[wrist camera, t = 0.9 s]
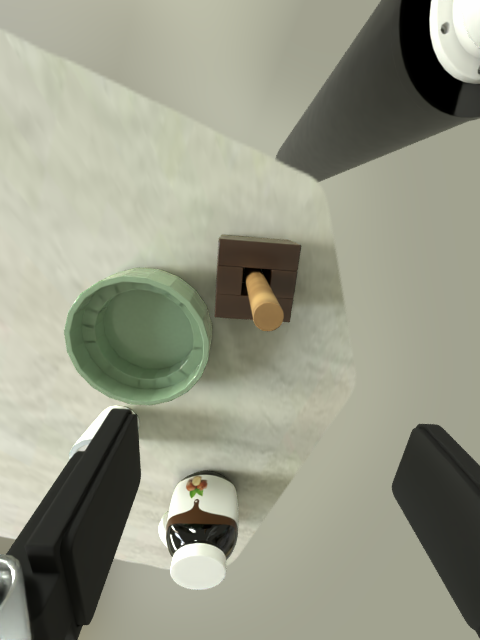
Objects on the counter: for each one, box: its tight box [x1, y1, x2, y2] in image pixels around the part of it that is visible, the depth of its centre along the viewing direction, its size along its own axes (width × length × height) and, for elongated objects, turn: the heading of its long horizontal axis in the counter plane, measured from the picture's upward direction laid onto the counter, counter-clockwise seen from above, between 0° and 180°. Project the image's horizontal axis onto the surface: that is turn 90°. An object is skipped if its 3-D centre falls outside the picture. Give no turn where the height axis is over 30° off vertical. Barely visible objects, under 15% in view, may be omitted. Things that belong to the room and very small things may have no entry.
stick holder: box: [215, 235, 301, 322], centre depth 30 cm, size 8×8×6 cm
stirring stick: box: [244, 267, 284, 331], centre depth 25 cm, size 2×2×16 cm
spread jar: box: [158, 471, 238, 590], centre depth 40 cm, size 12×11×12 cm
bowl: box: [64, 268, 212, 405], centre depth 32 cm, size 15×15×6 cm
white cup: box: [69, 406, 139, 460], centre depth 37 cm, size 7×7×7 cm
